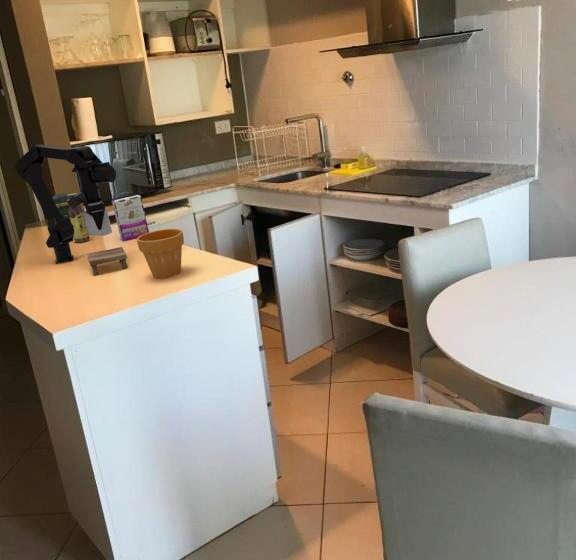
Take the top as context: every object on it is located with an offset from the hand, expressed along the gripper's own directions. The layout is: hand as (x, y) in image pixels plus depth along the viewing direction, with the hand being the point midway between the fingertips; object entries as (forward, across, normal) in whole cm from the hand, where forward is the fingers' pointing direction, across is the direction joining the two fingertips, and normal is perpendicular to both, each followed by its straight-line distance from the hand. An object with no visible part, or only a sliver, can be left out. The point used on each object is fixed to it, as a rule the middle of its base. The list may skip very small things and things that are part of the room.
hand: (98, 227), depth 222 cm
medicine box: (+3, 0, 0) cm, 3 cm away
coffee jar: (+12, -59, -10) cm, 61 cm away
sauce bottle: (+12, -41, -6) cm, 43 cm away
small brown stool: (+12, +12, 0) cm, 17 cm away
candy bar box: (+12, -28, +14) cm, 34 cm away
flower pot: (+12, +35, +16) cm, 40 cm away
